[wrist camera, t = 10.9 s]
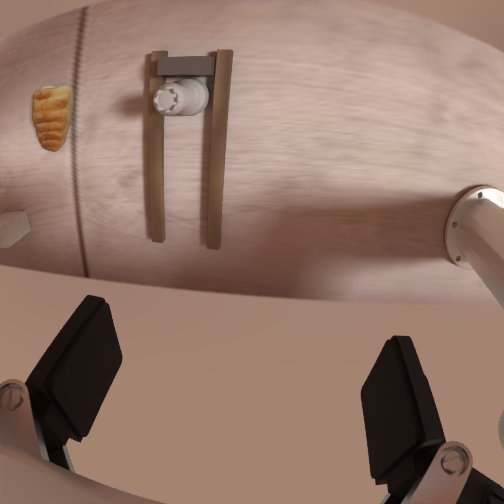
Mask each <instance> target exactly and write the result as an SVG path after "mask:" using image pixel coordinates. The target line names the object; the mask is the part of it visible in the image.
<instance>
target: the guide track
mask: <svg viewBox="0 0 504 504" xmlns="http://www.w3.org/2000/svg"><path fill="white" fill-rule="evenodd" d="M167 56H168V51H152V54H151V68H150V87H149V116H148V170H149V201H150V221H151V236H152V242H159V243H163V241H164V240H165V217H164V115H162V114H160V113H159V112H158V111H157V110H156V108H155V106H154V103H153V98H154V95H155V92H156V90H157V89H158V88H159V87H160V86H161V85H163V84H165V83H166V76H163V75H157V68H158V58H160V57H167ZM232 59H233V51H232V50H220V49H217V60H216V72H215V85H214V98H213V113H212V129H211V147H210V168H209V192H208V225H207V248H208V249H216V250H219V248H220V243H221V221H222V201H223V182H224V166H225V150H226V135H227V121H228V107H229V95H230V82H231V71H232Z"/></svg>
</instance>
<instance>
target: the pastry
mask: <svg viewBox="0 0 504 504" xmlns="http://www.w3.org/2000/svg"><path fill="white" fill-rule="evenodd" d="M72 107H73V88H72V86H71V85H61V86H56V87H54V86H50V85H49V86H44V87H42V88H40V89H38V90H36V91H35V93H34V102H33V121H34V124H35V127H36V130H37V135H38V137H39V141H40V142H41V144H42V147H44V148H45V149H47V150H50V151H53V152H56V151H58V150H59V149H60V148H61V147H62V146H63V144H64V143H65V140H66V135H67V132H68V129H69V126H70V124H71V122H72V117H71V115H72Z"/></svg>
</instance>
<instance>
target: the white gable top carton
mask: <svg viewBox="0 0 504 504" xmlns="http://www.w3.org/2000/svg"><path fill="white" fill-rule="evenodd" d="M30 231H31V227H30V224H29V220H28V217H27V213H26V210H21V211H11V212H3V213H2V214H0V248H7V247H11V246H12V245H13V244H15V243H16V242H17V241H18V240H20V239H21V238H22V237H23V236H25V235H26V234H27V233H29V232H30Z"/></svg>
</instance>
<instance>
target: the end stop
mask: <svg viewBox="0 0 504 504" xmlns="http://www.w3.org/2000/svg"><path fill="white" fill-rule="evenodd" d="M216 60H217V58H215V57H212V56H185V57H160V58H158V68H157V75H163V76H179V75H204V76H215V72H216Z"/></svg>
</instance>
